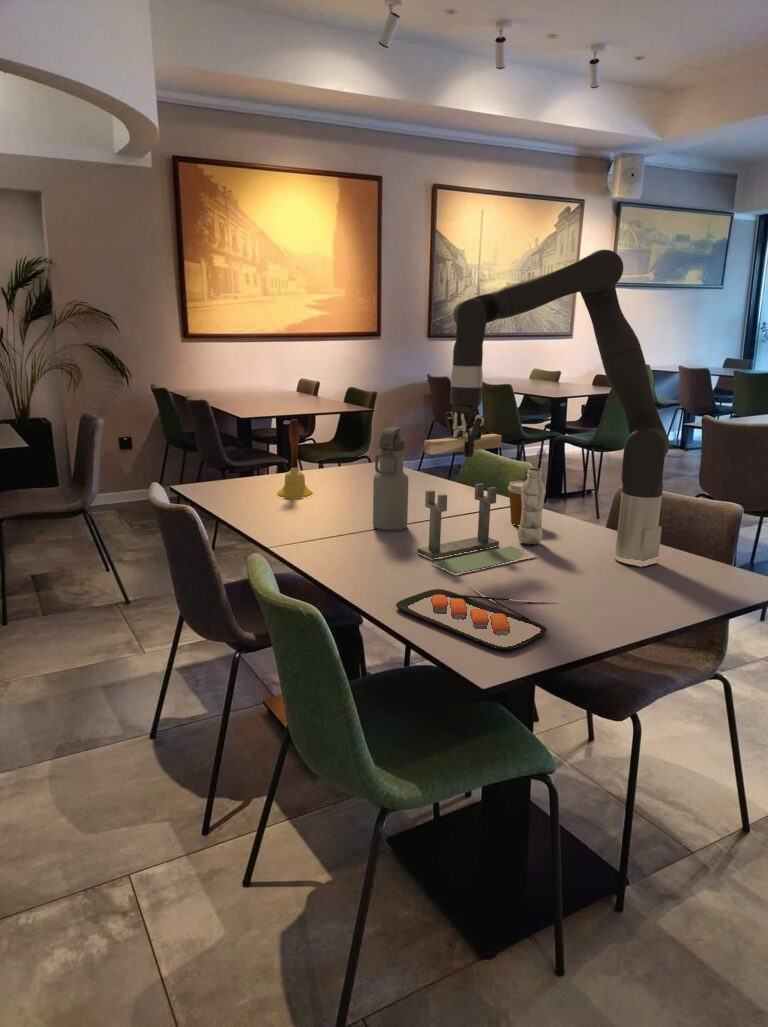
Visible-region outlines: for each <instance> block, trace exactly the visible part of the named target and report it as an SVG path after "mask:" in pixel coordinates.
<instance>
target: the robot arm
mask: <svg viewBox="0 0 768 1027" xmlns="http://www.w3.org/2000/svg"><path fill="white" fill-rule="evenodd" d="M623 273H624V262H623V260H622V258H621V256H620V255H619V254H618V253H617V252H615V251H613V250H610V249H599V250H596V251H595V250H594V251H593V252H592V253H590V254H588V255H587V256H585V257H583V258H581V259H579V260H576V261H575V262H573V263H570V264H568V265H567V266H566V265H565V266H563V267H561V268H559V269H556V270H553V271H551V272H547V273H545V274H542V275H538V276H536V277H535V276H534V277H532V278H527V279H525V280H522V281H519V282H515V283H511V284H509V285H506V286H503V287H499V288H497V289H495V290H494V291H492V292H491V291H490V292H488V293H484V294H480V295H476V296H472V297H468V298H465V299H462V300H460V301H459V302H458V303H457V304H456V306H455V307H454V308H453V315H452V317H453V321H454V322H455V324H456V327H455V328H456V331H455V332H456V333H455V335H456V336H455V342H454V346H453V350H452V351H453V353H452V370H451V374H450V375H451V376H450V378H451V379H450V400H449V402H450V404H451V405H453V406H452V409H451V411H450V412H445V413H444V419H445V424H446V427H447V432H448V436H450V437H451V438H455V437H465V441H466V442H465V446H464V451H462V452H454V455H457V456H461V455H463V457H465V458H472V457H473V455H474V451H475V450H474V441H476V440H480V438H481V436H482V435H483V433H484V431H485V427H486V425H487V422H488V420H487V417H482V416H481V415H480V410H479V406H480V405H482V397H483V382H484V381H483V379H484V377H483V374H484V373H483V355H484V352H483V351H484V348H483V346H484V339H485V333H486V327H487V324H489V323H492V322H493V321H497V320H501V319H502V320H503V319H508V318H512V317H515V316H518V315H521V314H524V313H527V312H530V311H532V310H535V309H537V308H540V307H542V306H544V305H546V304H549V303H551V302H553V301H556V300H559V299H560V298H563V297H566V296H569V295H572V294H576V293H580V295H581V298H582V300H583V302H584V304H585V307H586V309H587V312H588V315H589V317H590V320H591V323H592V328H593V332H594V336H595V340H596V345H597V348H598V351H599V355H600V360H601V363H602V366H603V371H604V373H605V376H606V379H607V381H608V382H607V383H608V384H609V386H610V389H611V390H612V392H613V393H614V395H615V398H616V399H617V401H618V402H619V404H620V406H621V408H622V410H623V413H624V416H625V420H626V425H627V430H628V434H629V435H628V437H627V438H626V440H625V443H624V446H623V447H624V448H623V453H622V455H623V456H622V469H621V484H622V487H621V495H620V496H621V497H620V503H619V504H620V505H619V512H618V513H619V514H618V522H617V523H618V524H617V525H618V526H617V533H616V541H615V542H616V543H615V553H614V555H615V554H616V555H617V556H618V557H621V558H626V559H634V560H641V561H645V560H648V559H652V558H655V557H658V558H659V556H660V555H659V554H660V546H661V545H660V544H661V538H662V529H663V527H662V526H660V525H659V522H660V512H661V506H662V499H663V498H662V497H663V492H664V491H663V490H664V483H663V481H664V480H663V476H664V475H663V474H664V468H665V467H664V466H665V458H666V456H667V455H668V452H669V449H670V439H669V438H670V437H669V436H668V433H667V431H666V428H665V425H664V424H663V422H662V419H661V417H660V413H659V411H658V408H657V406H656V403H655V400H654V395H653V389H652V384H651V381H650V376H649V373H648V371H649V370H648V367H647V363H646V358H645V356H644V353H643V352H644V351H643V350H642V345H641V343H640V340H639V338H638V336H637V334H636V333H635V331H634V329H633V328H632V326H631V325H630V324H629V322H628V320H627V319H626V317H625V316H624V313H623V312H622V309H621V306H620V303H619V297H618V294H617V290H616V285H617V284H618V283H619V281H620V280H621V278H622V276H623Z"/></svg>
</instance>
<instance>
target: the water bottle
mask: <svg viewBox="0 0 768 1027" xmlns="http://www.w3.org/2000/svg"><path fill="white" fill-rule="evenodd" d="M400 433H401V427H399V426H388V427H385V428H383V430H382V431H381V434H380V438H379V439H378V442H379V448H378V451H379V454H377V455H376V456H375V459H374V460H375V462H374V469H375V472H376V473H375V474H374V475H373V483H372V484H373V485H372V486H373V492H372V496H373V498H372V499H373V500H372V525H373V527H374V528H375V529H376V530H377V529H378V530H379V529H381V530H380V531H384V530H398V531H402V530H404V529H406V528H407V527H408V515H409V514H408V512H409V511H408V509H409V476H408V474H407V473H406V472H404V451H405V439H404V438H403V437H400ZM401 529H402V530H401Z"/></svg>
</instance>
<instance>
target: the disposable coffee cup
mask: <svg viewBox="0 0 768 1027" xmlns="http://www.w3.org/2000/svg"><path fill="white" fill-rule="evenodd" d="M525 481H526V480H515V481H510V482H509V485H508V486H507V489H508V493H509V494H508V495H509V507H510V509H509V510H510V524H511V523H512V524H515V525H520V521H521V514H522V498H521V487H522V485H523V484H524V482H525ZM512 524H511V525H512Z"/></svg>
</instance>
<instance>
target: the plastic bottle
mask: <svg viewBox="0 0 768 1027" xmlns="http://www.w3.org/2000/svg"><path fill="white" fill-rule="evenodd" d="M542 470H543V469H541V468H536V467H532V468H531V467H530V468H527V474H526V477H527V478H526V480H524V481H525V482H524V484H523V485H522V487H521V498H522V514H521V521H520V526H519V527H518V531H517V539H518V541H519V542H520V543H522V544H525V545H530V544H534V545H538V543H539V544H541V541H542V539H543V527H542V523H543V522H542V515H543V506H544V503H545V502H544V501H545V498H546V491H547V490H546V486H545V484H544V482H543V481H542V476H543V474H542V473H543V471H542Z"/></svg>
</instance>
